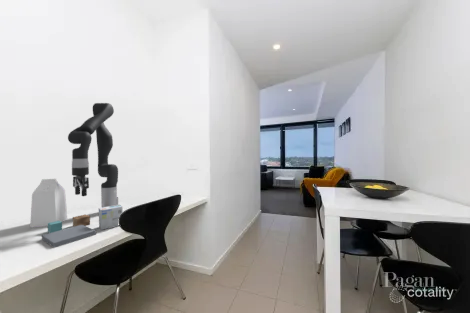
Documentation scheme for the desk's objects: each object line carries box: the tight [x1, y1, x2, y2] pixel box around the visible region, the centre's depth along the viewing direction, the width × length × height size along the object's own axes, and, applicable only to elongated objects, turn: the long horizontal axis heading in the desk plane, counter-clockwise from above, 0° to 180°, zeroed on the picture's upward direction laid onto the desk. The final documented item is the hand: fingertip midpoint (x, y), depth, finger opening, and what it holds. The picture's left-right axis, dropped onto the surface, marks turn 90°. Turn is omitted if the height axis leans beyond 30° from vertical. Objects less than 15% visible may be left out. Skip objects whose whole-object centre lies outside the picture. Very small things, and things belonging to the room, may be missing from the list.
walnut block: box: [72, 214, 91, 227], centre depth 112 cm, size 6×6×5 cm
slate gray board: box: [41, 225, 97, 248], centre depth 96 cm, size 16×16×2 cm
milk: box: [29, 178, 68, 228], centre depth 116 cm, size 12×12×26 cm
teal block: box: [47, 221, 63, 233], centre depth 103 cm, size 4×4×4 cm
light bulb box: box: [98, 204, 124, 231], centre depth 110 cm, size 11×7×11 cm, turn 135°
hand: (80, 195), depth 112 cm, fingers open, 8 cm apart
